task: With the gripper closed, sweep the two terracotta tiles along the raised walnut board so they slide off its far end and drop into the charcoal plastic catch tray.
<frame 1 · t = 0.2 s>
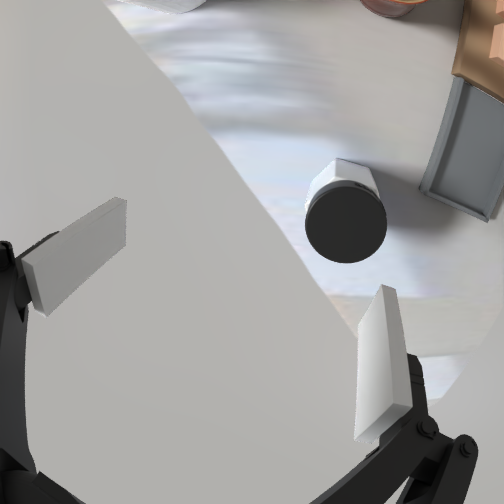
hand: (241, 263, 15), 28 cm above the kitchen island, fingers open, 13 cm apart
jar: (344, 190, 39), on the kitchen island
catch tray: (472, 149, 31), on the kitchen island
board: (499, 38, 22), on the kitchen island
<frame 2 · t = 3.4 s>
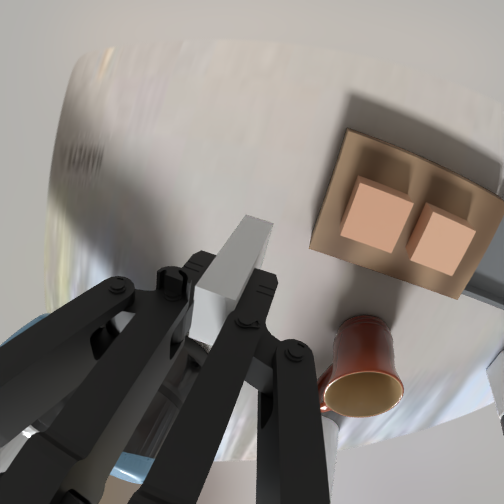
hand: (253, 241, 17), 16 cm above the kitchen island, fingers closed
bottle: (308, 428, 51), on the kitchen island
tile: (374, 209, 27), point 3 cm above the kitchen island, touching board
mug: (353, 337, 39), on the kitchen island
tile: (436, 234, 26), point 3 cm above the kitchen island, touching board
board: (409, 213, 29), on the kitchen island
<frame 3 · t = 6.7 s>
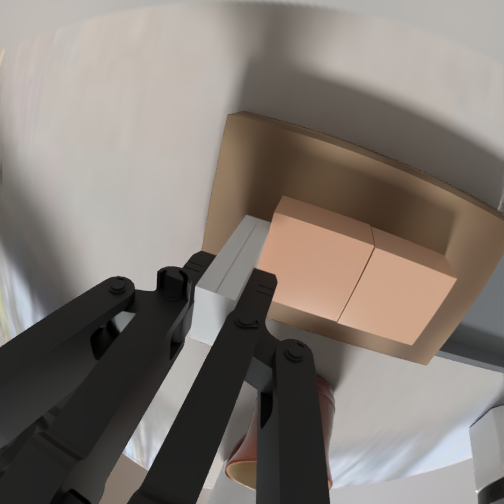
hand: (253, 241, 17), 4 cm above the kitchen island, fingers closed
bottle: (257, 470, 42), on the kitchen island
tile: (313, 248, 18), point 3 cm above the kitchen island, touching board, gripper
jar: (498, 418, 25), on the kitchen island
mug: (287, 392, 30), on the kitchen island
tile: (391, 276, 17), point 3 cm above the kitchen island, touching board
board: (353, 240, 20), on the kitchen island
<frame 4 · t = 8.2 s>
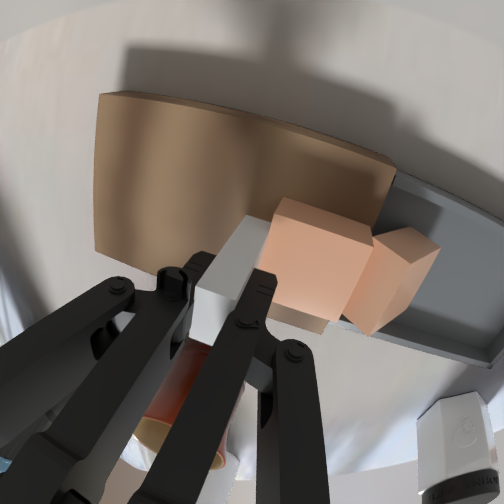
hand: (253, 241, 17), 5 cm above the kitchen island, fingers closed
bottle: (206, 453, 43), on the kitchen island
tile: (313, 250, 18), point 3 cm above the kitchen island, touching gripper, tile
jar: (452, 412, 26), on the kitchen island
catch tray: (454, 278, 19), on the kitchen island
mug: (205, 364, 31), on the kitchen island
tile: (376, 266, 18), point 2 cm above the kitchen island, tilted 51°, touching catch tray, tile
board: (226, 198, 21), on the kitchen island
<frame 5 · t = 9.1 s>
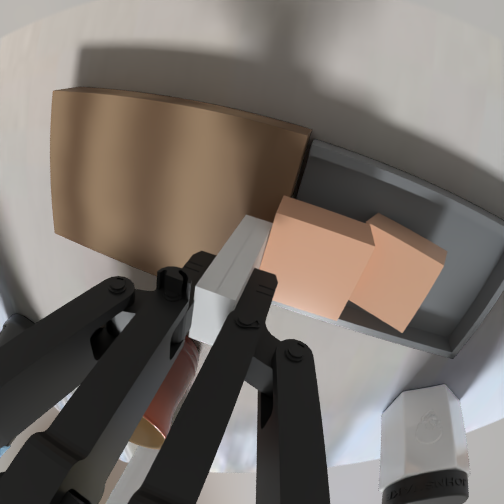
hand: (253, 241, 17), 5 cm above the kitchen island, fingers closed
bottle: (179, 443, 44), on the kitchen island
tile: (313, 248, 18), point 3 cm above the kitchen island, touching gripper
jar: (421, 406, 27), on the kitchen island
catch tray: (400, 257, 20), on the kitchen island
mug: (163, 346, 31), on the kitchen island
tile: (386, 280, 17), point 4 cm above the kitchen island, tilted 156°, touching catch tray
board: (163, 179, 21), on the kitchen island
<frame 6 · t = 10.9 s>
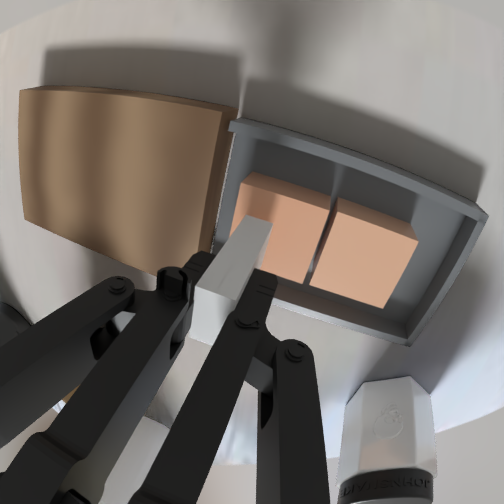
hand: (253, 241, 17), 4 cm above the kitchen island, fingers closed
bottle: (155, 432, 44), on the kitchen island
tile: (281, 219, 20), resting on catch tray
jar: (387, 399, 27), on the kitchen island
catch tray: (340, 234, 20), on the kitchen island
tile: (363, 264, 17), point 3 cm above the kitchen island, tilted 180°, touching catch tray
board: (113, 166, 22), on the kitchen island
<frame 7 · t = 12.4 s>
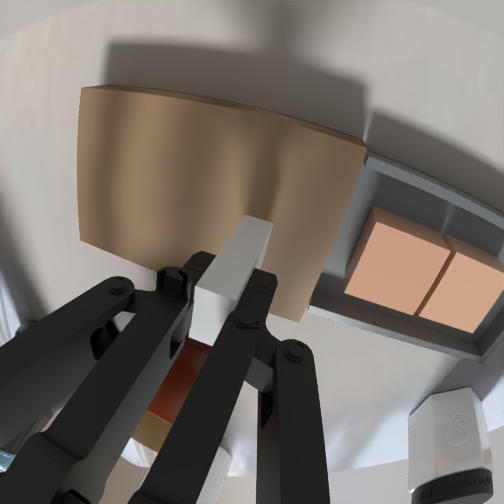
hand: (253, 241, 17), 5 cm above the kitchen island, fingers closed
bottle: (199, 448, 43), on the kitchen island
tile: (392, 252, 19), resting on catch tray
jar: (445, 408, 26), on the kitchen island
catch tray: (439, 266, 19), on the kitchen island
mug: (192, 355, 31), on the kitchen island
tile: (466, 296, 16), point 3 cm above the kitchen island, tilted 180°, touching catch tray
board: (203, 186, 21), on the kitchen island
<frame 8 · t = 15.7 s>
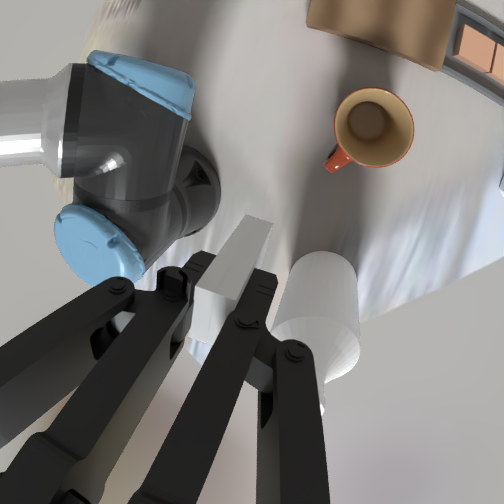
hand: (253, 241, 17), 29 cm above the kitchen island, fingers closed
bottle: (322, 280, 51), on the kitchen island
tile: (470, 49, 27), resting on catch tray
catch tray: (491, 62, 27), on the kitchen island
mug: (357, 127, 39), on the kitchen island
board: (382, 10, 29), on the kitchen island
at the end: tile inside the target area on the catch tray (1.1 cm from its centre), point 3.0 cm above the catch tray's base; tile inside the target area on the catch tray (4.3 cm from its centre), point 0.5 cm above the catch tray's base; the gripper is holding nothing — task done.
